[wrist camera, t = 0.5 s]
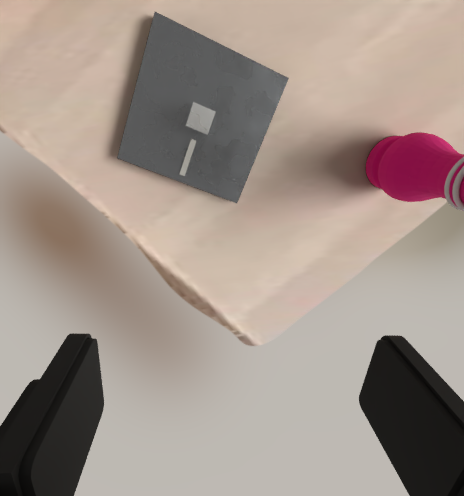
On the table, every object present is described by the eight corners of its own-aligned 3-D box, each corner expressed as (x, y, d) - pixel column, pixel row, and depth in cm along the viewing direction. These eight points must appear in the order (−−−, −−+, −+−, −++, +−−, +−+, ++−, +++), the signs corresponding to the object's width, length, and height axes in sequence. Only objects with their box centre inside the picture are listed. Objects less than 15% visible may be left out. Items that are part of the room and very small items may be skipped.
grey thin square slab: (157, 16, 29) (148, -4, 24) (284, 80, 32) (298, 73, 28) (120, 156, 34) (107, 162, 29) (235, 200, 37) (240, 211, 32)
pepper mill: (429, 140, 36) (664, 158, 18) (402, 197, 39) (583, 266, 20) (376, 124, 35) (569, 126, 16) (352, 185, 37) (496, 246, 19)
